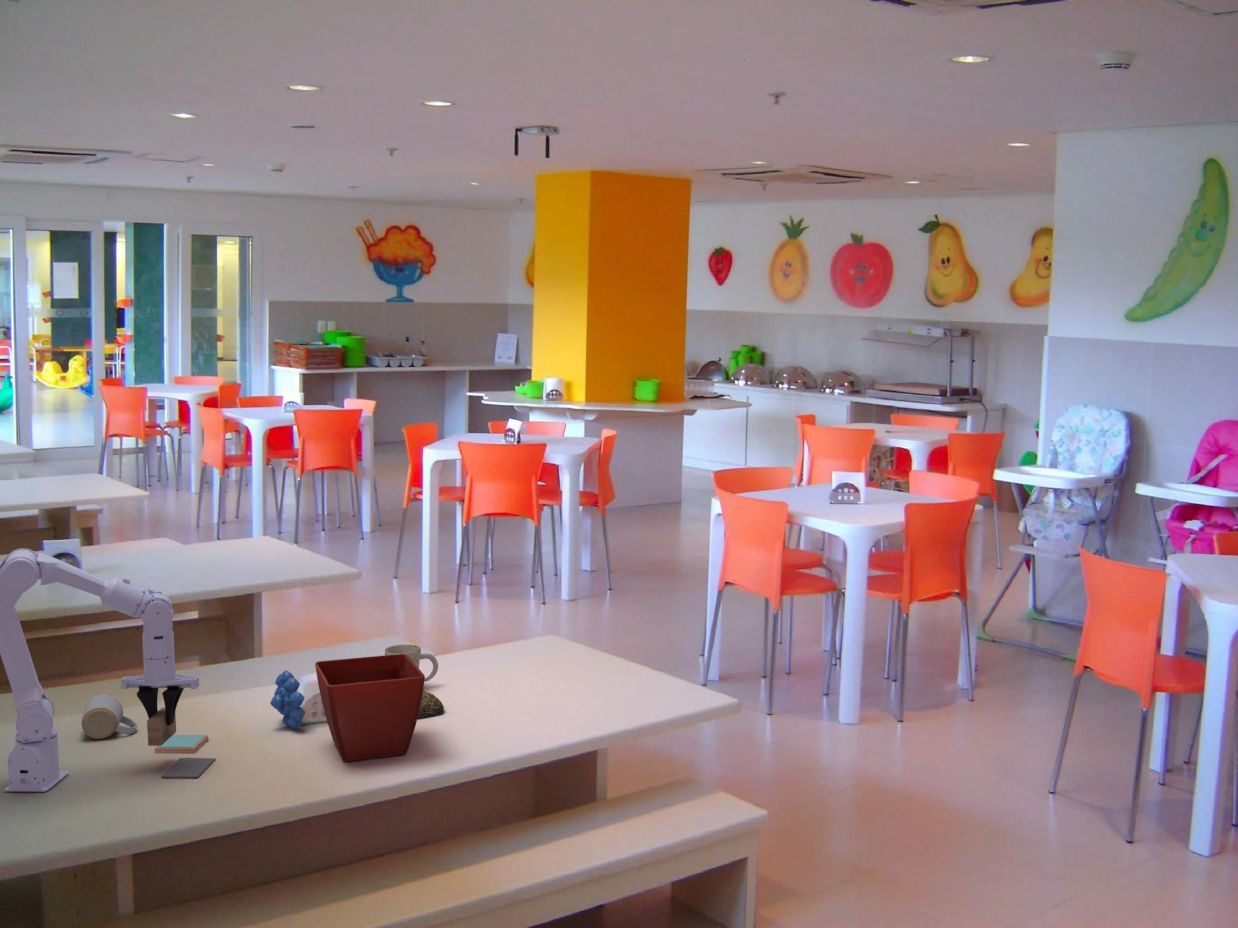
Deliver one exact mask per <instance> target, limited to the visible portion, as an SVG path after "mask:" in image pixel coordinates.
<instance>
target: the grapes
mask: <svg viewBox="0 0 1238 928" xmlns="http://www.w3.org/2000/svg"><path fill="white" fill-rule="evenodd" d="M274 684H275V686H277V687H276V689H275V691H274V695H273V697H272V698H271V701H270V703H269V704H270V706H272V707H273V709H275V710H277V712H278V713H279V714H280V715H283V717H282V723H283V724H284V725H286V726H287V727H289V728H292V729H294V730H298V729H299V728H300V727H301V726H302V723H303V719H304V717H305V714H306V710H305V709H304V708H303V707H301V706H302V705H303V703H304V700H305V696H304V695H303V694H302V693H301V692H299V691H298V690H299V688H300V685H301V683H300V681H299V680H297V679H296V678H295V676H294V675H293V673H291V672H290V671H288V670H284V671H282V673H279V675H278V676H277V677H276V679H275V682H274Z"/></svg>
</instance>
